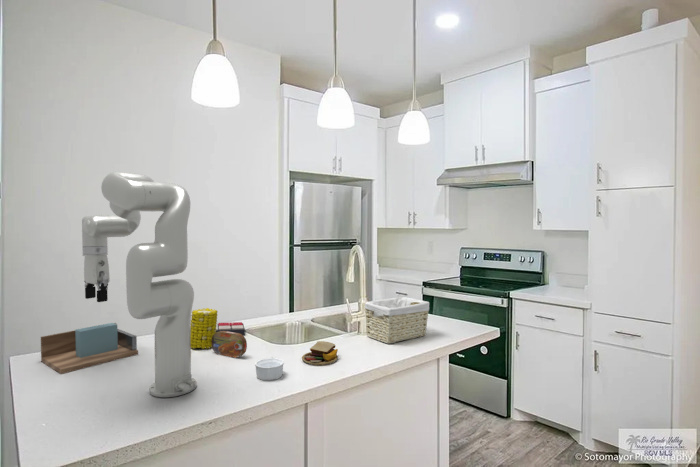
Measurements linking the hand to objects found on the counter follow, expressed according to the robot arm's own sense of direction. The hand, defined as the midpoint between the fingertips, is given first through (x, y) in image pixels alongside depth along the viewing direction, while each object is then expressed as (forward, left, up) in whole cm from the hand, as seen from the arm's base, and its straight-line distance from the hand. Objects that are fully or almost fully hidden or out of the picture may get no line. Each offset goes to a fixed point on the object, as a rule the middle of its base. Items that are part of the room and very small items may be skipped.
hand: (96, 299), depth 147 cm
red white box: (-11, -46, -21) cm, 51 cm away
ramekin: (-61, -26, -21) cm, 69 cm away
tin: (-35, -30, -21) cm, 50 cm away
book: (0, 0, -19) cm, 19 cm away
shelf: (0, +2, -20) cm, 20 cm away
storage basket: (-70, -88, -21) cm, 114 cm away
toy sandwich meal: (-63, -47, -21) cm, 81 cm away
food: (-19, -30, -20) cm, 41 cm away
